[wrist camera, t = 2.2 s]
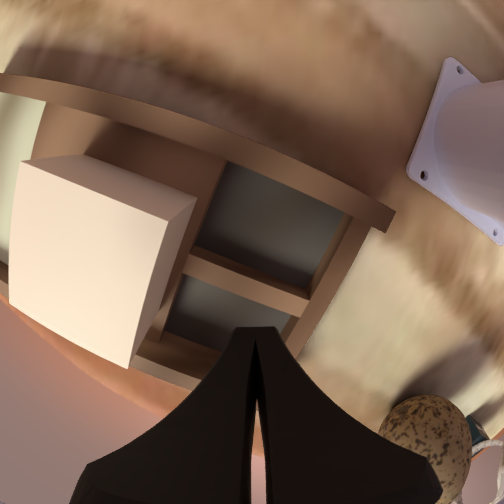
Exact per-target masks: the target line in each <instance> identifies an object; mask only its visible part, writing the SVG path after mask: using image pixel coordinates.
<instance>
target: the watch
mask: <svg viewBox="0 0 504 504" xmlns="http://www.w3.org/2000/svg"><path fill="white" fill-rule="evenodd" d="M466 420H467V422H468V425H469V428H470V432H471V437H472V458H473V457H474V456H475V455H476V454H478V453H479V452H480V451H481V450H482V449H484V448H485V447H488V446H489V445H490V446H492V445H499V446H502V451H503V453H502V455H501V458H500V461H499V467H498V476H497V477H498V478H497V487H498V493H497V496H496V497H497V498H496V499H495V500H494V501H493V502H491V503H490V504H496V503H497V502H499V501H500V500H501V499H502V498H503V497H504V442H502V441H499V440H490V439H489V437H488V436H487V434H486V433H485V431H484V429H483V428H482V426H481V425H480V424H479V423H478V422H477V421H476V420H474V419H473V418H472V417H471V416H470V415H468V416H467V417H466ZM461 495H462V490H461V492H460V494H459V495H458V497H457V498H456V499H455V500H454V501H453V502H454V504H463V503H462V502H461V501H462V496H461Z"/></svg>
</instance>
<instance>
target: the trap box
mask: <svg viewBox="0 0 504 504" xmlns="http://www.w3.org/2000/svg"><path fill="white" fill-rule="evenodd" d="M80 154H84V155H87V156H89V157H92V158H95V159H98V160H101V161H103V162H106V163H109V164H111V165H114V166H117V167H120V168H122V169H125V170H128V171H130V172H133V173H136V174H138V175H141V176H143V177H146V178H149V179H151V180H154V181H157V182H159V183H162V184H164V185H167V186H169V187H172V188H175V189H177V190H180V191H182V192H185V193H187V194H190V195H192V196H195V197H197V200H196V203H195V206H194V208H193V211H192V214H191V216H190V219H189V222H188V225H187V227H186V230H185V233H184V236H183V238H182V241H181V244H180V247H179V250H178V253H177V256H176V259H175V261H174V264H173V267H172V270H171V273H170V276H169V279H168V283H167V286H166V289H165V292H164V295H163V298H162V301H161V305H160V308H159V311H158V313H157V315H156V317H155V318H154V320H153V322H152V324H151V326H150V328H149V329H148V331H147V333H146V335H145V337H144V339H143V341H142V342H141V344H140V346H139V348H138V350H137V352H136V354H135V356H134V358H133V360H132V362H131V363H130V365H129V366H130V367H133V368H135V369H137V370H139V371H142V372H144V373H147V374H149V375H152V376H154V377H156V378H159V379H162V380H164V381H167V382H169V383H172V384H175V385H177V386H180V387H183V388H186V389H189V390H191V391H193V390H194V389H195V388H196V386H197V385H198V384H199V383H200V382H201V380H202V379H203V378H204V377H205V375H206V374H207V373H208V371H209V370H210V369H211V367H212V366H213V365H214V363H215V362H216V360H217V358H218V357H219V355H220V354H221V352H222V351H223V349H224V347H225V346H226V344H227V342H228V340H229V338H230V336H231V334H232V331H233V330H234V329H235V328H236V327H266V326H274V327H276V328H277V329H278V332H279V334H280V336H281V338H282V340H283V341H284V343H285V345H286V346H287V348H288V350H289V351H290V353H291V354H292V355H293V357H294V358H295V359H296V357H297V356H298V354H299V353H300V351H301V350H302V348H303V346H304V345H305V343H306V342H307V340H308V339H309V337H310V335H311V334H312V332H313V331H314V329H315V327H316V326H317V324H318V322H319V321H320V319H321V317H322V316H323V314H324V312H325V311H326V309H327V307H328V306H329V304H330V302H331V300H332V299H333V297H334V295H335V293H336V292H337V290H338V288H339V286H340V285H341V283H342V281H343V279H344V277H345V276H346V274H347V272H348V270H349V268H350V267H351V265H352V263H353V261H354V259H355V257H356V255H357V253H358V251H359V250H360V248H361V246H362V244H363V242H364V240H365V238H366V236H367V234H368V232H369V230H370V228H371V226H372V227H374V228H376V229H378V230H380V231H382V232H384V233H386V231H387V229H388V227H389V225H390V223H391V221H392V219H393V217H394V215H395V213H396V211H394V210H393V209H391V208H389V207H387V206H386V205H384V204H382V203H380V202H378V201H377V200H375V199H373V198H371V197H369V196H368V195H366V194H364V193H362V192H360V191H358V190H356V189H355V188H353V187H351V186H349V185H347V184H345V183H343V182H341V181H339V180H337V179H335V178H333V177H331V176H329V175H327V174H325V173H323V172H321V171H319V170H317V169H315V168H313V167H311V166H308V165H306V164H304V163H302V162H300V161H298V160H296V159H293V158H291V157H289V156H287V155H284V154H282V153H280V152H278V151H275V150H273V149H271V148H268V147H266V146H264V145H261V144H259V143H257V142H254V141H252V140H249V139H247V138H244V137H242V136H239V135H237V134H234V133H232V132H229V131H227V130H224V129H221V128H219V127H216V126H213V125H210V124H208V123H205V122H202V121H199V120H197V119H194V118H191V117H188V116H185V115H182V114H179V113H176V112H173V111H170V110H167V109H163V108H160V107H157V106H154V105H150V104H147V103H144V102H140V101H137V100H133V99H130V98H126V97H122V96H119V95H115V94H111V93H107V92H103V91H99V90H95V89H90V88H86V87H82V86H77V85H72V84H67V83H62V82H57V81H52V80H46V79H40V78H34V77H27V76H20V75H13V74H4V73H0V293H1V294H2V295H4V296H5V297H6V298H8V299H9V242H10V228H11V217H12V208H13V200H14V193H15V187H16V180H17V175H18V169H19V164H20V161H24V160H31V159H39V158H48V157H58V156H68V155H80ZM256 410H258V403H257V404H256ZM258 411H259V410H258Z"/></svg>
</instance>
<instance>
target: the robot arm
mask: <svg viewBox="0 0 504 504" xmlns="http://www.w3.org/2000/svg"><path fill="white" fill-rule="evenodd" d="M457 68H458V70H459V72H460V74H459V73H458V71H457ZM422 171H423V172H424V174H425V175H424V178H423V179H421V177H420V174H421V172H422ZM406 173H407V175H408V177H409V178H410V179H412V180H413V181H415V182H416V183H418V184H419V185H421V186H422V187H424V188H425V189H427V190H428V191H430V192H431V193H432V194H434V195H435V196H437V197H438V198H439V199H441V200H442V201H444V202H445V203H446V204H448V205H449V206H450V207H452V208H453V209H454V210H456V211H457V212H458V213H460V214H461V215H462V216H464V217H465V218H466V219H467V220H469V221H470V222H471V223H472V224H474V225H475V226H476V227H477V228H478V229H480V230H481V231H482V232H483V233H484V234H486V235H487V236H488V237H489V238H490V239H492V240H493V241H494V242H495V243H496V244H498V245H500V246H502V245H504V80H499V81H493V82H487V83H481V82H480V81H479V80H478V79H477V78H476V77H475V76H474V75H473V74H472V73H471V72H470V71H468V70H467V69H466V68H465V67H464V66H463V65H462V64H461V63H459V62H458V61H457V60H456V59H455V58H453V57H448V58H446V59H445V60H444V62H443V66H442V69H441V73H440V76H439V79H438V82H437V85H436V89H435V92H434V95H433V98H432V101H431V104H430V106H429V109H428V112H427V115H426V118H425V120H424V123H423V126H422V129H421V131H420V134H419V136H418V139H417V142H416V144H415V147H414V149H413V152H412V154H411V156H410V159H409V161H408V164H407V167H406ZM493 231H494V233H493ZM257 403H258V410H259V418H260V425H261V433H262V440H263V447H264V455H265V469H266V502H267V503H266V504H435V503H436V502H437V501H438V500H439V499H440V498H441V496H442V493H443V488H442V486H441V483H440V481H439V479H438V476H437V474H436V473H435V471H434V469H433V467H432V466H431V464H430V463H429V461H428V459H427V458H426V457H425V456H422V455H420V454H418V453H415V452H413V451H411V450H408V449H406V448H404V447H401V446H399V445H397V444H395V443H393V442H391V441H389V440H387V439H385V438H384V437H382V436H380V435H378V434H377V433H375V432H373V431H372V430H370V429H369V428H367V427H366V426H364V425H363V424H361V423H360V422H359V421H357V420H356V419H354V418H353V417H351V416H350V415H349V414H347V413H346V412H345V411H344V410H342V409H341V408H340V407H339V406H338V405H337V404H335V403H334V402H333V401H332V400H331V399H330V398H329V397H328V396H327V395H326V394H325V393H324V392H323V391H322V390H321V389H320V388H319V387H318V386H317V385H316V384H315V383H314V382H313V381H312V380H311V378H310V377H309V376H308V375H307V374H306V373H305V371H304V370H303V369H302V368H301V366H300V365H299V364H298V362H297V361H296V360H295V358H294V357H293V355H292V354H291V353H290V351H289V350H288V348H287V346H286V345H285V343H284V341H283V340H282V338H281V336H280V334H279V332H278V329H277V328H276V327H274V326H266V327H236V328H235V329H234V330H233V331H232V334H231V336H230V338H229V340H228V342H227V344H226V346H225V347H224V349H223V351H222V352H221V354H220V355H219V357H218V358H217V360H216V362H215V363H214V365H213V366H212V367H211V369H210V370H209V371H208V373H207V374H206V375H205V377H204V378H203V379H202V380H201V382H200V383H199V384H198V385H197V386H196V388H195V389H194V390H193V391H192V392H191V393H190V394H189V395H188V396H187V397H186V398H185V399H184V400H183V401H182V402H181V403H180V404H179V405H178V406H177V407H176V408H175V409H174V410H173V411H172V412H171V413H169V414H168V415H167V416H166V417H165V418H164V419H163V420H161V421H160V422H159V423H158V424H156V425H155V426H154V427H153V428H151V429H150V430H148V431H146V432H145V433H144V434H142V435H141V436H139V437H138V438H136V439H135V440H133V441H132V442H130V443H129V444H127V445H125V446H124V447H122V448H120V449H118V450H116V451H114V452H112V453H110V454H108V455H106V456H104V457H102V458H100V459H98V460H96V461H93V462H91V463H89V464H87V466H86V467H85V469H84V471H83V473H82V474H81V476H80V478H79V480H78V482H77V485H76V487H75V490H74V492H73V495H72V498H71V500H70V503H69V504H251V455H252V444H253V434H254V424H255V414H256V404H257ZM0 504H6V503H4V502H3V501H1V500H0ZM496 504H504V499H502V500H501V501H500V502H498V503H496Z"/></svg>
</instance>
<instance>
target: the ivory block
mask: <svg viewBox="0 0 504 504" xmlns="http://www.w3.org/2000/svg"><path fill="white" fill-rule="evenodd" d="M196 200H197V197H195V196H192V195H190V194H187V193H185V192H182V191H180V190H177V189H175V188H172V187H169V186H167V185H164V184H162V183H159V182H157V181H154V180H151V179H149V178H146V177H143V176H141V175H138V174H136V173H133V172H130V171H128V170H125V169H122V168H120V167H117V166H114V165H111V164H109V163H106V162H103V161H101V160H98V159H95V158H92V157H89V156H87V155H84V154H80V155H68V156H58V157H48V158H39V159H31V160H24V161H20V164H19V169H18V175H17V180H16V187H15V193H14V200H13V208H12V217H11V228H10V242H9V303H10V304H11V305H13V306H14V307H16V308H17V309H19V310H20V311H22V312H23V313H25V314H26V315H28V316H29V317H31V318H32V319H34V320H36V321H37V322H39V323H40V324H42V325H44V326H45V327H47V328H49V329H50V330H52V331H54V332H55V333H57V334H59V335H61V336H62V337H64V338H66V339H68V340H70V341H71V342H73V343H75V344H77V345H79V346H81V347H83V348H85V349H87V350H88V351H90V352H92V353H94V354H96V355H98V356H100V357H102V358H105V359H107V360H109V361H111V362H113V363H115V364H117V365H119V366H122V367H124V368H126V369H128V367H129V365H130V363H131V362H132V360H133V358H134V356H135V354H136V352H137V350H138V348H139V346H140V344H141V342H142V341H143V339H144V337H145V335H146V333H147V331H148V329H149V328H150V326H151V324H152V322H153V320H154V318H155V317H156V315H157V313H158V311H159V308H160V305H161V301H162V298H163V295H164V292H165V289H166V286H167V283H168V279H169V276H170V273H171V270H172V267H173V264H174V261H175V259H176V256H177V253H178V250H179V247H180V244H181V241H182V238H183V236H184V233H185V230H186V227H187V225H188V222H189V219H190V216H191V214H192V211H193V208H194V206H195V203H196Z"/></svg>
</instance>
